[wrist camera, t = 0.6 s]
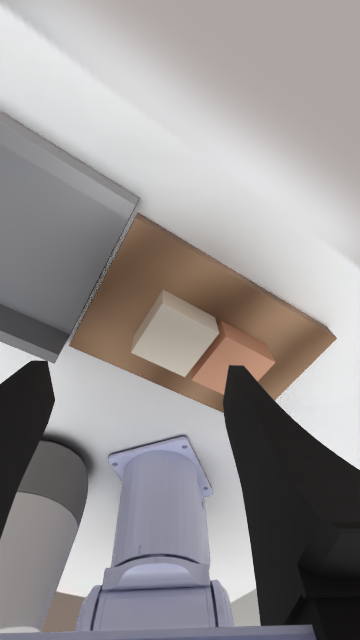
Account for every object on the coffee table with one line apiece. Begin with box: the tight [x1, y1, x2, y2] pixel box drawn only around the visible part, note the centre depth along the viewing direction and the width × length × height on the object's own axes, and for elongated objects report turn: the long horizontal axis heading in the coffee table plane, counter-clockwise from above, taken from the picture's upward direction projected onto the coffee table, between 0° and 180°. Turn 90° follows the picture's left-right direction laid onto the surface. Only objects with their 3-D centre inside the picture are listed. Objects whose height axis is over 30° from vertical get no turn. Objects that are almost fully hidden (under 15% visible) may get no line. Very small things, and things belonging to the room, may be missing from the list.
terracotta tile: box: [190, 321, 275, 395], centre depth 21 cm, size 4×4×2 cm
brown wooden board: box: [69, 213, 337, 413], centre depth 22 cm, size 16×10×2 cm, turn 59°
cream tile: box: [131, 290, 219, 377], centre depth 20 cm, size 4×4×2 cm
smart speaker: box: [0, 440, 88, 633], centre depth 23 cm, size 10×9×14 cm
